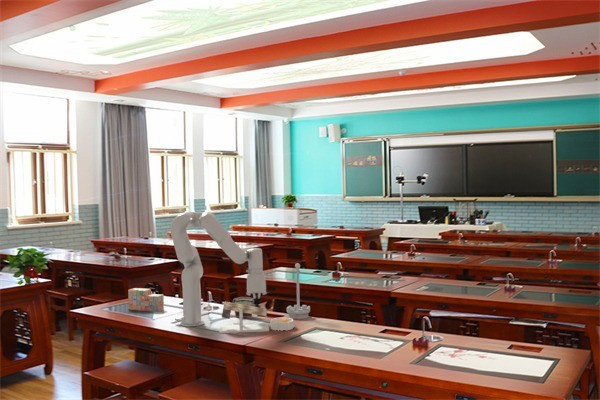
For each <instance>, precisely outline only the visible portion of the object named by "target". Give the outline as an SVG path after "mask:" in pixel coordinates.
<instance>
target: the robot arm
mask: <svg viewBox="0 0 600 400" xmlns="http://www.w3.org/2000/svg"><path fill="white" fill-rule="evenodd" d="M188 228H200V229H203V230H204V231H205V232H206V234H208V235H209V236H210V238H212V240H214V242H216V244H217V245H218V246H219V248H220V249H222V251H223V252H224V253H225V254H226V255H227V257H228V258H230V259H231V260H232V261H233V262H234V263H235V264H238V265H242V264H244V263H245V262H248V269H246V270H245V272H246V273H248V274H247V275H246V295H247V296H249V297H250V296H251V298H253V300H254V302H253V304H255V305H256V306H259V305H260V304H261V297H262V296H265V295H267V294H268V292H267V282H266V275H265V273H264V269H263V268H264V266H263V265H264V264H263V250H262V248H259V247H252V248H247V247H240V246H239V245H238V244H237V243H236V242H235V240H234V239H233V238H232V237H231V234H230V232H229V230H228V229H227V228H225V226H224V225H222V223H220V221H218V220H217V216H216V215H215V214H214V213H212V212H204V211H203V212H202V211H201V212H198V211H185V212H182V213H180V214H178V215H177V216H175V217H174V218H173V220H172V222H171V224H170V229H169V230H170V231H169V232H170V236H171V238H172V239H171V240H172V242H173V246H174V251H175V254H176V256H177V260H178V261H179V262H180V263H181V264H183V266H184V267H183V268H184V269H183V270H182V271H181V276H180V277H181V286H182V309H183V310H182V312H183V313H182V314H183V315H181V316H175V317H174V321H175V322H180V324H179V325H180V326H182V327H188V328H189V327H198V326H199V327H200V326H202V325H204V324H205V320H204V319H202V293H201V291H202V290H201V278H202V277H203V274H204V268H203V265H202V261H201V257H200V255H199V254H200V253H199V252H198V251H199V250H198V249H197V247H196V246H194V245H193V244H191V242H190V241H191V240H190V237H189V235H188V231H187V229H188ZM256 294H257V296H256Z"/></svg>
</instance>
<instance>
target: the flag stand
mask: <svg viewBox="0 0 600 400" xmlns="http://www.w3.org/2000/svg"><path fill="white" fill-rule="evenodd" d="M294 268H296V270H295V271H296V304H294V305H293V306H292V305H288V306H287V307H286V313H288V318H292V319H293V320H303V319H308V318H309V313H310V312H311V306H310V305H308V306H307V304H302V305H300V304H301V303H300V301H301V300H300V268H301V264H300V263H298V262H297V263H295V265H294ZM307 317H308V318H307Z"/></svg>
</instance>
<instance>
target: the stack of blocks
mask: <svg viewBox="0 0 600 400" xmlns="http://www.w3.org/2000/svg"><path fill="white" fill-rule="evenodd" d="M127 291H128V295H127V297H128V310H133V311H143V312H156V313H158V312H160V311H164V309H165V308H164V303H165V302H164V297H165V296H164V294H159V293H158V294H156V293H152V289H151V288H141V287H139V288H138V287H134V288H130V289H128V290H127Z"/></svg>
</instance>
